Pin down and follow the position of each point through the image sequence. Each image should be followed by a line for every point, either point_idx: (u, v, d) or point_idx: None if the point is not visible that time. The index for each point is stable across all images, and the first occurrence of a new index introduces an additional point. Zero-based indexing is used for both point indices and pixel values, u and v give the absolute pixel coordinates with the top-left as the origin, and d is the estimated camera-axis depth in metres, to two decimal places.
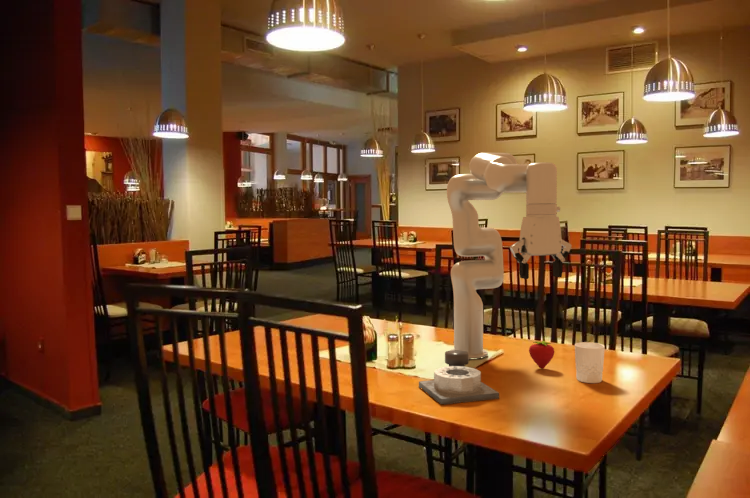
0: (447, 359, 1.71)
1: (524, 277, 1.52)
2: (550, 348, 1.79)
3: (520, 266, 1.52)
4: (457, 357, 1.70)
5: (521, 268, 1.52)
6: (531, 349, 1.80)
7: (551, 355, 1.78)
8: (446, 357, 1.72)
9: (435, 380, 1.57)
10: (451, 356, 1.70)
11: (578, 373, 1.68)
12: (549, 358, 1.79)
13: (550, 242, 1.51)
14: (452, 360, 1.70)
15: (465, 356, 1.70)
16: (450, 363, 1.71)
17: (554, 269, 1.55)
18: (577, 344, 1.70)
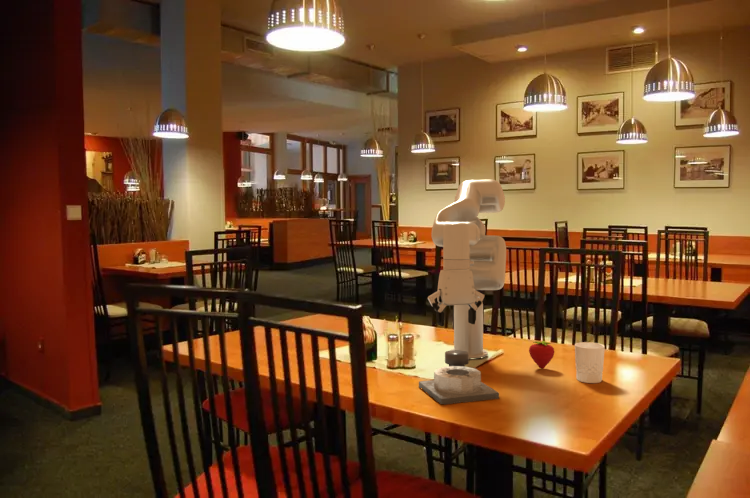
0: (447, 359, 1.71)
1: (440, 324, 1.70)
2: (550, 348, 1.79)
3: (437, 314, 1.70)
4: (457, 357, 1.70)
5: (438, 316, 1.70)
6: (531, 349, 1.80)
7: (551, 355, 1.78)
8: (446, 357, 1.72)
9: (435, 380, 1.57)
10: (451, 356, 1.70)
11: (578, 373, 1.68)
12: (549, 358, 1.79)
13: (463, 293, 1.70)
14: (452, 360, 1.70)
15: (465, 356, 1.70)
16: (450, 363, 1.71)
17: (469, 316, 1.74)
18: (577, 344, 1.70)
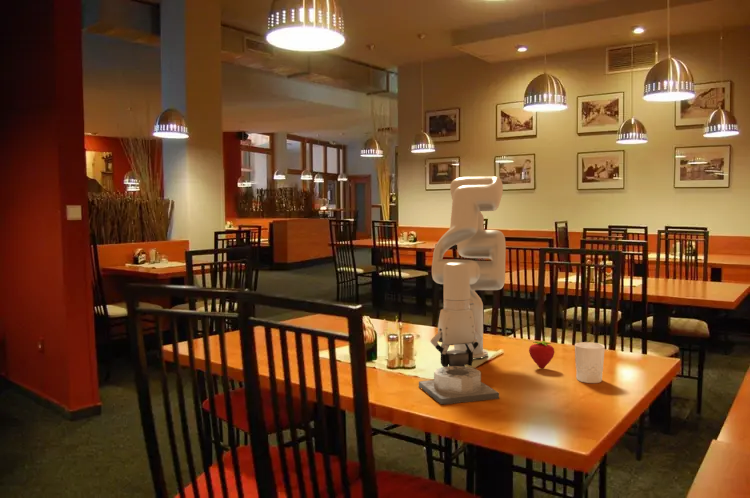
0: None
1: (444, 366, 1.71)
2: (550, 348, 1.79)
3: (441, 356, 1.72)
4: (457, 357, 1.70)
5: (442, 358, 1.71)
6: (531, 349, 1.80)
7: (551, 355, 1.78)
8: None
9: (435, 380, 1.57)
10: (451, 356, 1.70)
11: (578, 373, 1.68)
12: (549, 358, 1.79)
13: (464, 333, 1.71)
14: (452, 360, 1.70)
15: (465, 356, 1.70)
16: (450, 363, 1.70)
17: None
18: (577, 344, 1.70)
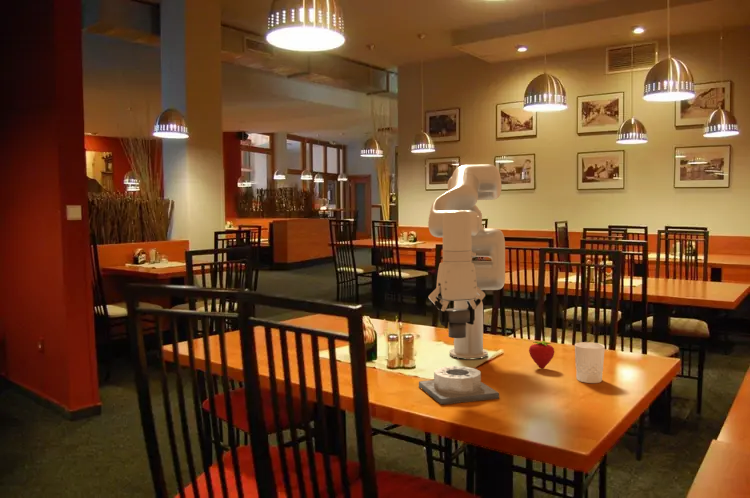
0: None
1: (444, 324, 1.56)
2: (550, 348, 1.79)
3: (440, 313, 1.57)
4: (457, 314, 1.54)
5: (441, 315, 1.56)
6: (531, 349, 1.80)
7: (551, 355, 1.78)
8: None
9: (435, 380, 1.57)
10: (451, 313, 1.55)
11: (578, 373, 1.68)
12: (549, 358, 1.79)
13: (465, 288, 1.55)
14: (452, 317, 1.55)
15: (466, 313, 1.55)
16: (450, 321, 1.55)
17: None
18: (577, 344, 1.70)
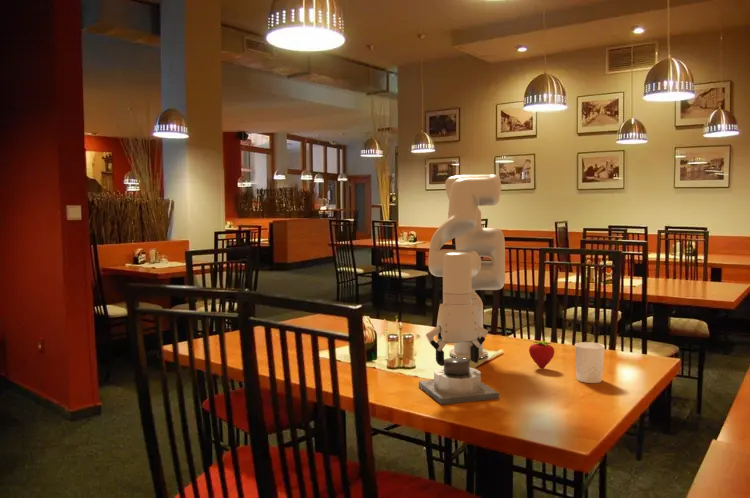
0: (446, 368, 1.56)
1: (440, 364, 1.56)
2: (550, 348, 1.79)
3: (436, 353, 1.56)
4: (457, 365, 1.54)
5: (437, 355, 1.56)
6: (531, 349, 1.80)
7: (551, 355, 1.78)
8: (445, 365, 1.57)
9: (435, 380, 1.57)
10: (451, 365, 1.55)
11: (578, 373, 1.68)
12: (549, 358, 1.79)
13: (465, 330, 1.55)
14: (452, 369, 1.55)
15: (466, 364, 1.55)
16: (449, 372, 1.55)
17: (471, 354, 1.60)
18: (577, 344, 1.70)
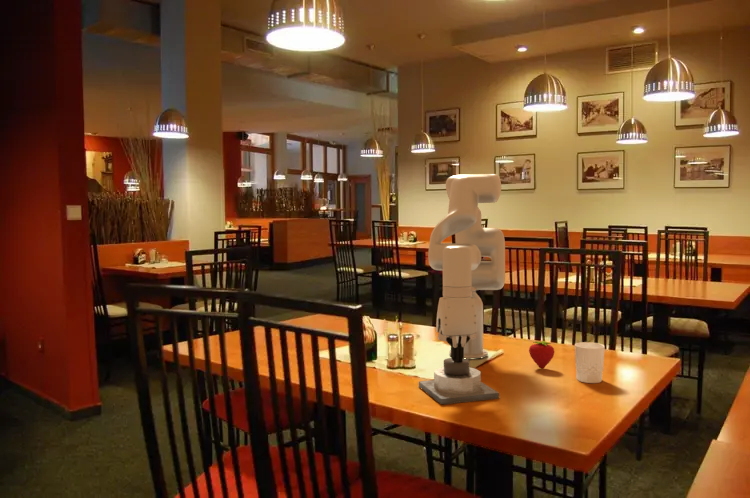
0: (446, 368, 1.56)
1: (455, 360, 1.57)
2: (550, 348, 1.79)
3: (451, 349, 1.57)
4: (457, 366, 1.54)
5: (452, 352, 1.57)
6: (531, 349, 1.80)
7: (551, 355, 1.78)
8: (445, 366, 1.57)
9: (435, 380, 1.57)
10: (451, 365, 1.55)
11: (578, 373, 1.68)
12: (549, 358, 1.79)
13: (465, 323, 1.55)
14: (452, 369, 1.55)
15: (466, 365, 1.55)
16: (449, 372, 1.55)
17: None
18: (577, 344, 1.70)
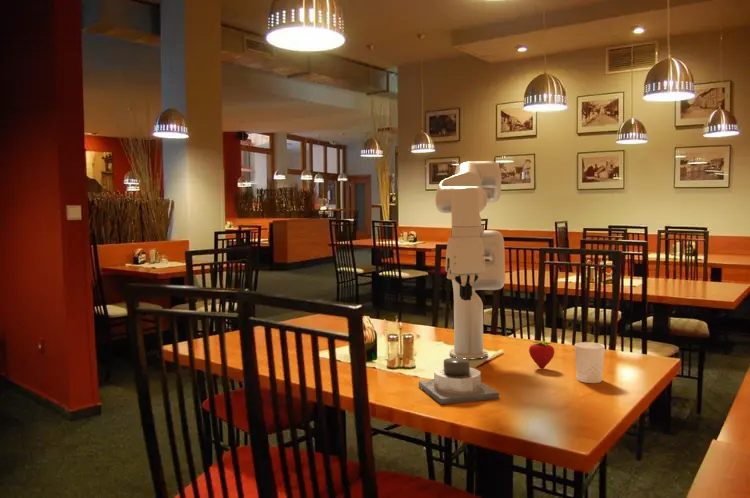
0: (446, 368, 1.56)
1: (464, 298, 1.62)
2: (550, 348, 1.79)
3: (460, 288, 1.63)
4: (457, 366, 1.54)
5: (461, 290, 1.62)
6: (531, 349, 1.80)
7: (551, 355, 1.78)
8: (445, 366, 1.57)
9: (435, 380, 1.57)
10: (451, 365, 1.55)
11: (578, 373, 1.68)
12: (549, 358, 1.79)
13: (473, 262, 1.60)
14: (452, 369, 1.55)
15: (466, 365, 1.55)
16: (449, 372, 1.55)
17: None
18: (577, 344, 1.70)
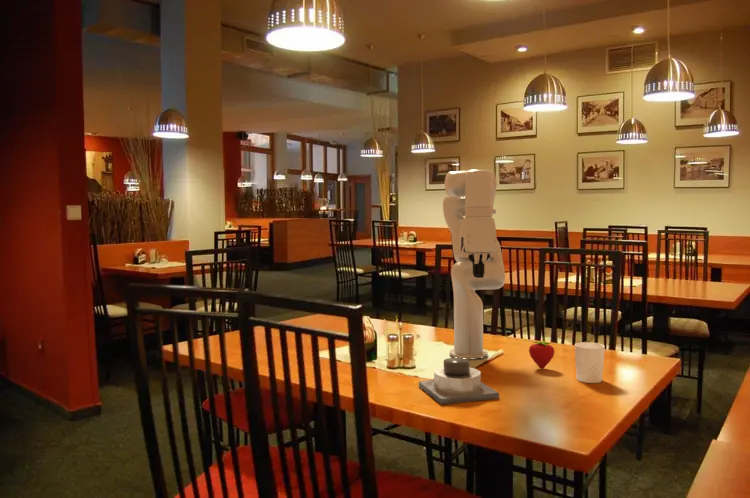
0: (446, 368, 1.56)
1: (477, 276, 1.70)
2: (550, 348, 1.79)
3: (473, 266, 1.71)
4: (457, 366, 1.54)
5: (474, 268, 1.70)
6: (531, 349, 1.80)
7: (551, 355, 1.78)
8: (445, 366, 1.57)
9: (435, 380, 1.57)
10: (451, 365, 1.55)
11: (578, 373, 1.68)
12: (549, 358, 1.79)
13: (486, 241, 1.69)
14: (452, 369, 1.55)
15: (466, 365, 1.55)
16: (449, 372, 1.55)
17: None
18: (577, 344, 1.70)
